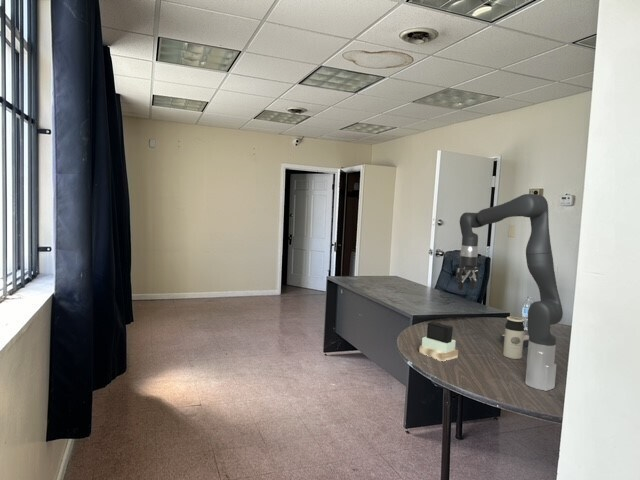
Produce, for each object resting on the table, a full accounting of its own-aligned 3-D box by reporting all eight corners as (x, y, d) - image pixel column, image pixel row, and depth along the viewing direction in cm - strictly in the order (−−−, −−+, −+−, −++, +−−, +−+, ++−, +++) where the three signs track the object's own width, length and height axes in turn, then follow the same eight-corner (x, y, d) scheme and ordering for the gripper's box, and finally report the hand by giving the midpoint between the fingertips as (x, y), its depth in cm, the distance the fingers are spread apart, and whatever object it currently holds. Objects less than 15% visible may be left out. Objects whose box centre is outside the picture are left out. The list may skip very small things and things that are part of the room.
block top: (455, 349, 192) (455, 340, 192) (445, 353, 186) (446, 344, 185) (431, 342, 200) (431, 334, 200) (421, 346, 194) (422, 337, 193)
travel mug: (503, 352, 201) (506, 315, 200) (522, 355, 197) (525, 318, 196) (502, 357, 194) (505, 319, 193) (521, 360, 190) (524, 321, 189)
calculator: (536, 337, 218) (521, 339, 209) (535, 345, 218) (520, 348, 209) (516, 331, 227) (500, 333, 218) (515, 339, 227) (499, 342, 218)
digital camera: (453, 341, 190) (454, 326, 190) (447, 343, 187) (448, 328, 186) (432, 335, 198) (434, 321, 197) (426, 337, 194) (427, 322, 194)
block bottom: (457, 358, 191) (458, 350, 190) (441, 363, 185) (442, 354, 184) (434, 350, 201) (435, 342, 201) (419, 353, 195) (419, 345, 195)
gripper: (465, 256, 189) (463, 292, 190) (485, 255, 197) (482, 290, 198) (452, 254, 195) (450, 289, 196) (471, 254, 203) (469, 287, 204)
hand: (466, 289), depth 197 cm, fingers open, 8 cm apart
